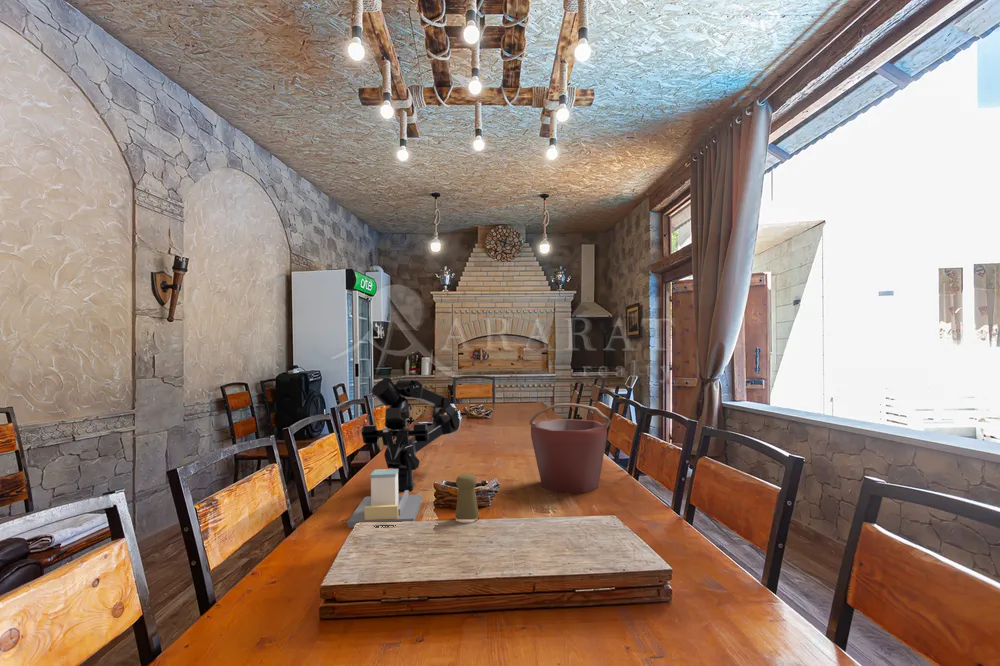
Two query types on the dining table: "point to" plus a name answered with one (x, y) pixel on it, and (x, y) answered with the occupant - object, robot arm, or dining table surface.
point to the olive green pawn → (466, 497)
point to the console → (387, 510)
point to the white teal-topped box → (384, 487)
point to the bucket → (569, 451)
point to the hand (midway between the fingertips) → (393, 458)
